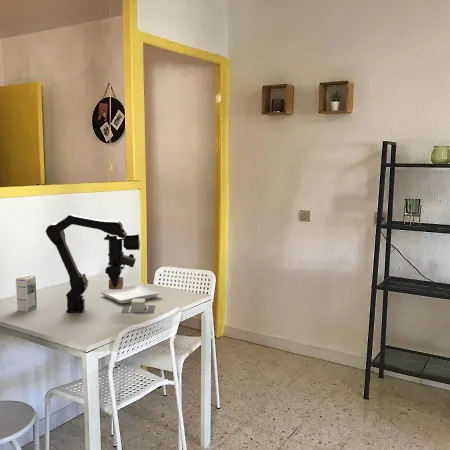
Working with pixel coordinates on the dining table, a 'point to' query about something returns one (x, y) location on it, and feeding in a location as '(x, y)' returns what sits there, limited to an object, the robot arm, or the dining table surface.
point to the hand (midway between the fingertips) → (116, 285)
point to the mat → (148, 310)
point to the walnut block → (119, 284)
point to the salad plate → (129, 293)
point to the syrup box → (26, 293)
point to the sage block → (138, 305)
